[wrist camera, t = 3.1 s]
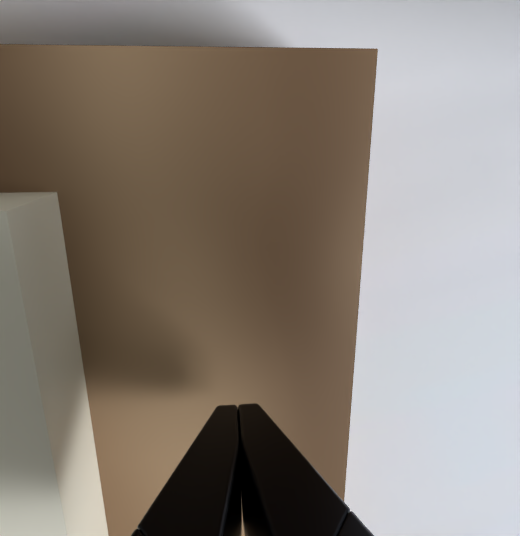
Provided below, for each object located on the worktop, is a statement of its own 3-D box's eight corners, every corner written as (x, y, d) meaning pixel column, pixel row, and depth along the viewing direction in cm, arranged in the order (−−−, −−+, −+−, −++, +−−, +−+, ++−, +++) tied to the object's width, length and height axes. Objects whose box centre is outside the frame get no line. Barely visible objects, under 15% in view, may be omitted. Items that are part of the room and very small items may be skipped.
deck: (326, 75, 12) (377, 48, 8) (303, 632, 18) (324, 763, 15) (-237, 71, 10) (-498, 38, 7) (-39, 665, 17) (-112, 816, 13)
